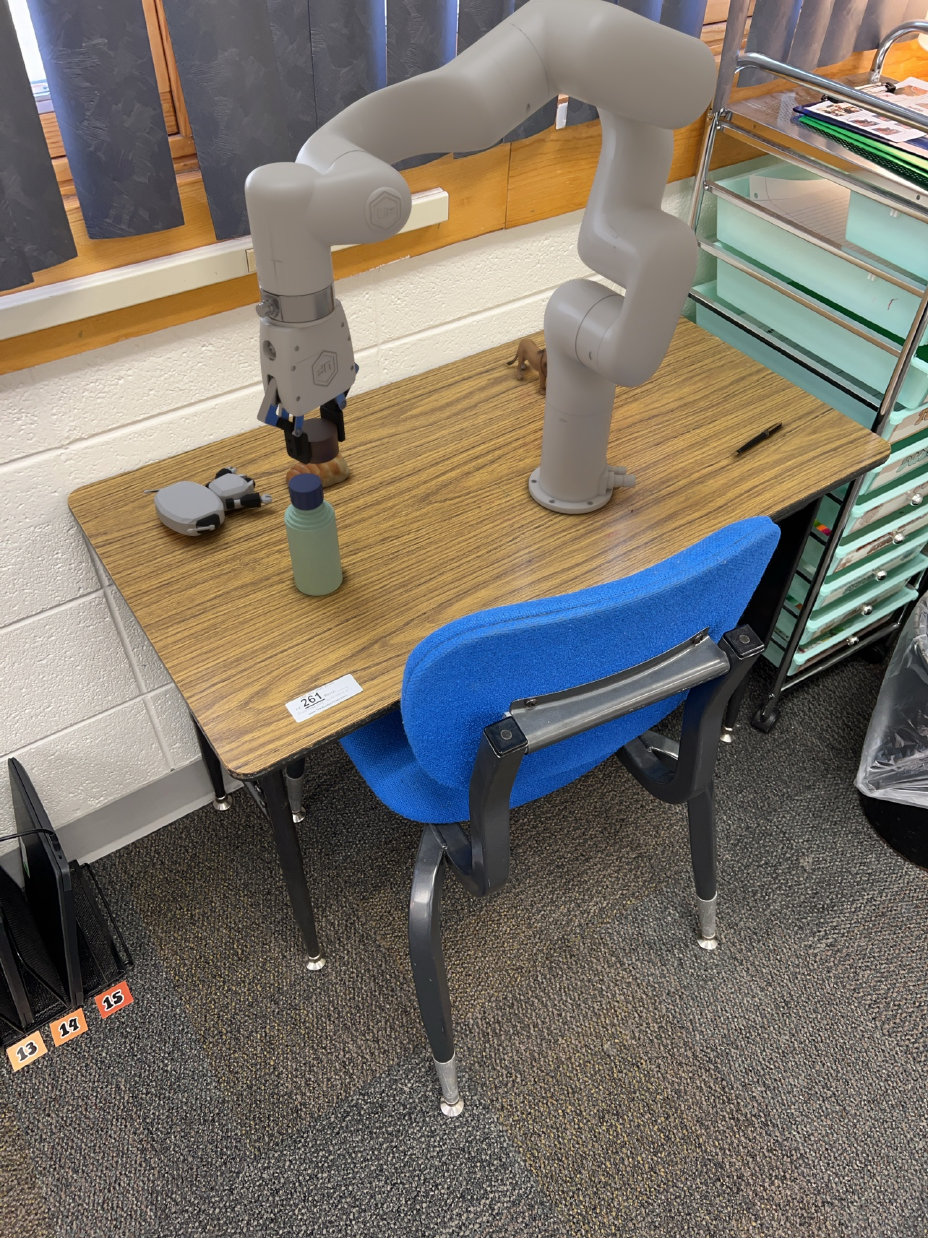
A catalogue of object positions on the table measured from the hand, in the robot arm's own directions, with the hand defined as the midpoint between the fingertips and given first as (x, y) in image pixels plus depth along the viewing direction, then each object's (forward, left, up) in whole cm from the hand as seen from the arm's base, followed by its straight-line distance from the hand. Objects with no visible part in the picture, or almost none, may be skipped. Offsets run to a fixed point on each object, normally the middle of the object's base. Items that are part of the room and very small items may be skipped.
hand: (316, 446), depth 106 cm
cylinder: (0, 0, -1) cm, 1 cm away
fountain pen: (-62, -40, -23) cm, 77 cm away
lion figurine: (-27, -56, -23) cm, 66 cm away
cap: (+2, -2, -7) cm, 8 cm away
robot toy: (+20, -15, -23) cm, 34 cm away
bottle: (+2, -2, -23) cm, 23 cm away
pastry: (+6, -25, -23) cm, 34 cm away
